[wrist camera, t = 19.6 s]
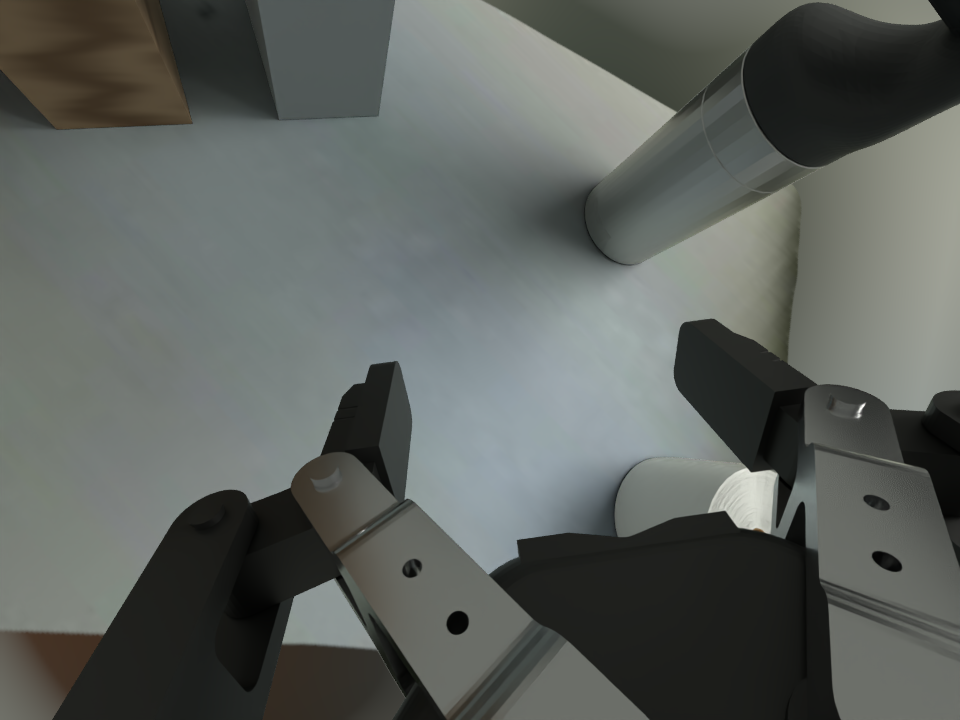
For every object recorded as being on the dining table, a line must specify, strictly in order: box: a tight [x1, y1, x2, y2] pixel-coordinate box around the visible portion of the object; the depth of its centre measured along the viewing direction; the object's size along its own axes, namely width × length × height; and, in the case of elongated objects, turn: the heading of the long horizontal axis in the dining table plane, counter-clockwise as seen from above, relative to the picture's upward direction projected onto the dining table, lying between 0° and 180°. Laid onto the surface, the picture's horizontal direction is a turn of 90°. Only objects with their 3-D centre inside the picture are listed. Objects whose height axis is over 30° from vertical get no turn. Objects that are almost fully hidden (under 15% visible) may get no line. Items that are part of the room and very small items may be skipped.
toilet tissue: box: [615, 457, 778, 537], centre depth 35 cm, size 11×12×10 cm
